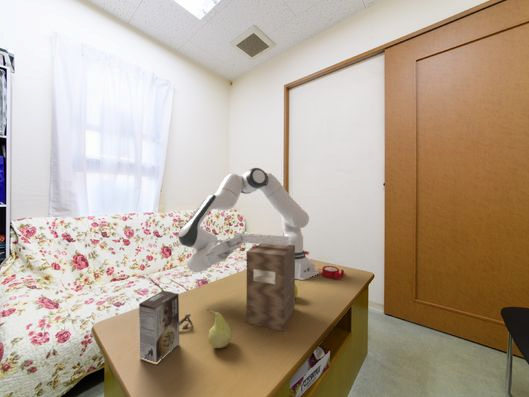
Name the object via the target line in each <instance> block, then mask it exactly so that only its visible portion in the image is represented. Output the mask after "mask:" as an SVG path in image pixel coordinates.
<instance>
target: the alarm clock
mask: <svg viewBox="0 0 529 397" xmlns="http://www.w3.org/2000/svg"><path fill="white" fill-rule="evenodd" d="M318 270H319V271H321V276H322V275H324V276H327V277H334V278H335V279H334V278H333V279H334V280H336V279H337V280H339V279H341V278H344V277H345V278H346V277H347V276H348V275H347V274H346V273H345V271H344V269H339V267H337V266H333V265H325V266H322V269H320V268H318ZM318 270H317V271H318ZM344 275H345V276H344ZM324 276H323V277H324ZM327 277H326V278H327ZM338 278H339V279H338Z"/></svg>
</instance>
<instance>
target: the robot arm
mask: <svg viewBox="0 0 529 397" xmlns="http://www.w3.org/2000/svg"><path fill="white" fill-rule="evenodd" d="M258 190H260V191H261V192H263V194H264V196H265V197H266V199H267V200H268V201H269V202H270V203H271V205H272V206H273V207H274V209H275V210H276V211H278V213H279V214H280V220H281V227H282V232H283V236H289V245H295V280H300V281H305V280H308V279H311V278H313V277H315V275H316V276H318V275H320V273H319V271H318V270H317V269H315V263H314V262H313V261H312V260H311V259H309V258H308V257H307V256H309V254H310V252H309V251H307V250H304V236H303V233H302V229H303V228H305V227H306V226H307V225H308V224H309V222H310V217H309V214H308V212H306V211H305V210H304V209H303V208H302V207H301V206H300V204H298V202H296V200H294V199H293V198H292V197H291V195H290V194H289V193H288V192H287V189H286V188H285V187H284V186H283V185H282V183H281V182H280V181H279V180H278V179H277V177H276V176H274V175H273V174H272V173H271V172H265V170H263V169H261V168H260V167H253V168H250V169H249V170H247V171H246V172H244V173H243V174H242V175H241V176H239V175H238V174H236V173H229V174H227V175H226V176H225V178H224V179H223V181H222V182H221V183H220V185H219V187H218V188H217V191H216V192H215V193H214V194H210V195H207V197H205V198H204V199H203V201H202V203H200V205H199V206H198V207H197V209H196V210H195V212H194V213H193V214H192V216H190V218H189V219H188V220H187V221H186V222H185V224H184V225H183V226H181V228H180V229H179V231H178V234H177V236H178V241H179V243H180V244H181V245H182V246H185V247H187V248H191V249H193V250H194V252H193V253H192V254H191V256H189V257H188V258H187V260H186V266H187V268H188V270H190V271H191V272H193V273H196V274H198V273H201V272H204V271H206V270H208V269H210V268H212V267H213V265H218V264H220V263H222V262H223V261H224V260H226V259H227V258H228V257H229V256H230V255H231V254H232V253H234V251H235V250H236V249H238V248H240V247H242V246H243V244H245V243H244V242H239V241H241V240H242V237H241V236H238V237H237V238H235V239H234V237H232V238H230V239H222V240H220V239H218V237H217V236H216V235H215V234H214V233H212V232H211V231H208V230H206V229H204V228H202V227H201V224H202V223H203V221H205V219H206V217H207V216H208V215H209V213H210V212H211V211H212V210H217V211H218V210H219V211H229V210H231V209H233V208H234V207H235V205H236V203H238V200H239V197H240V195H241V194H244V195H248V194H251V193H253V192H256V191H258ZM306 255H307V256H306ZM317 274H318V275H317ZM312 276H313V277H312ZM310 277H311V278H310Z"/></svg>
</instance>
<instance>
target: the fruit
mask: <svg viewBox="0 0 529 397" xmlns="http://www.w3.org/2000/svg"><path fill="white" fill-rule="evenodd" d="M206 311H207V312H210V313H213V314H214V315H215V316H214V317H215V318H214V319H215V321H214V324H213V325H212V327H211V328H210V329H209V332H208V337H207V338H208V342H209V344H210V345H211V347H212V348H215V349H222V348H225V347H227V346H228V345H229V343H230V342H231V341H232V336H233V334H232V333H233V332H232V329H231V327H230V325H229V324H228V323H227V321H226V320H225V318H224V317H223V315H222V313H220V312H215V311H214V310H212V309H210V308H206Z"/></svg>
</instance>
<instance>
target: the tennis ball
mask: <svg viewBox="0 0 529 397" xmlns="http://www.w3.org/2000/svg"><path fill="white" fill-rule="evenodd" d="M298 292H299V289H298V287H297V285H296V284H295V299H296V298H297V296H298Z"/></svg>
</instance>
